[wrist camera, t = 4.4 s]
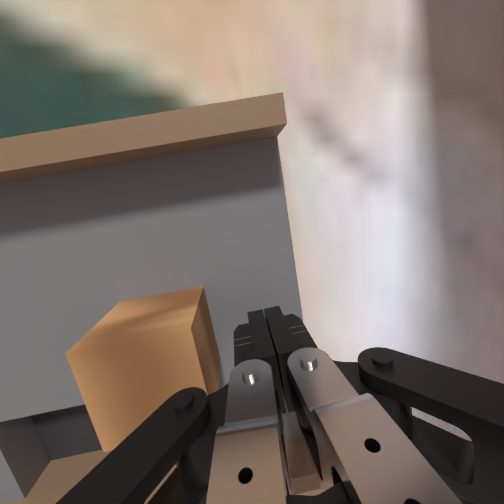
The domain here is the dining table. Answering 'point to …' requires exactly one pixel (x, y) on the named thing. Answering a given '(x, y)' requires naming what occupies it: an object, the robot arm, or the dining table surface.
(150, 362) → the block
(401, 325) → the dining table surface
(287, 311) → the box
